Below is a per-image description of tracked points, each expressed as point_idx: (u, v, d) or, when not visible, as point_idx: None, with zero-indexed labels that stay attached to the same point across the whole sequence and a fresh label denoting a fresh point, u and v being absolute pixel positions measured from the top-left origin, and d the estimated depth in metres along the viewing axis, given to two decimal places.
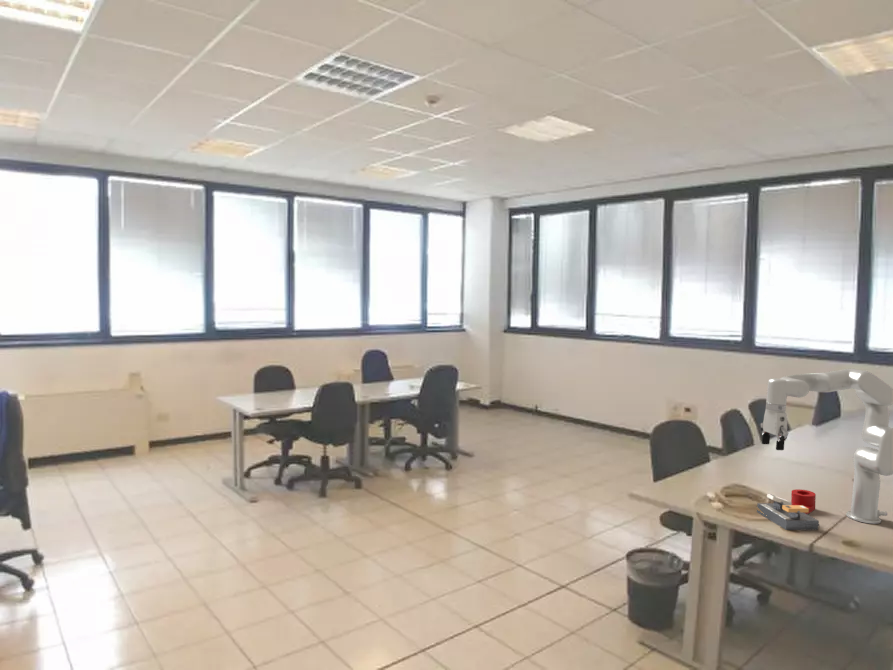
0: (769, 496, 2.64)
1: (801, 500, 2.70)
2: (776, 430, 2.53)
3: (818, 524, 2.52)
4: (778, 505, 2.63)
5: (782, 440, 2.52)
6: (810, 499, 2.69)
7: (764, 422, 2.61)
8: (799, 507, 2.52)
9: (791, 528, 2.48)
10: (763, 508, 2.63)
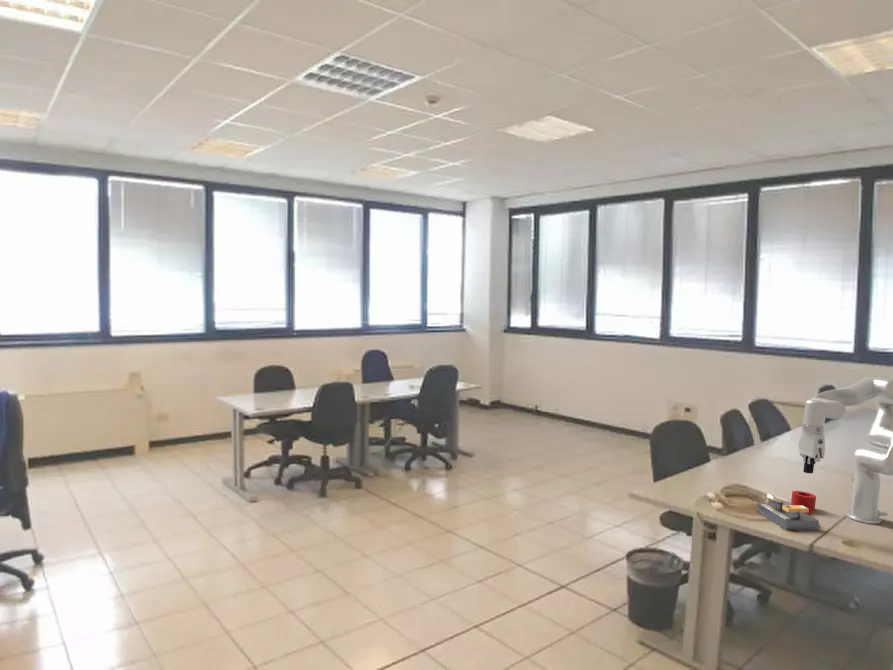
0: (769, 496, 2.64)
1: (801, 501, 2.71)
2: (814, 453, 2.47)
3: (818, 524, 2.52)
4: (778, 505, 2.63)
5: (811, 464, 2.50)
6: (810, 501, 2.70)
7: (800, 444, 2.54)
8: (799, 507, 2.52)
9: (791, 528, 2.48)
10: (763, 508, 2.63)
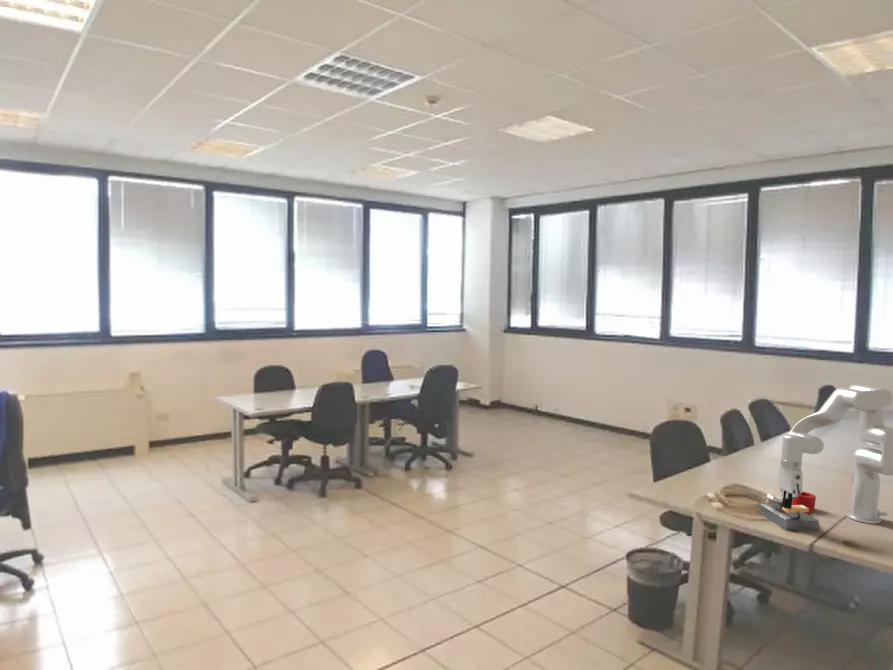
0: (769, 496, 2.64)
1: (801, 501, 2.71)
2: (791, 488, 2.47)
3: (818, 524, 2.52)
4: (778, 505, 2.63)
5: None
6: (810, 501, 2.70)
7: (778, 478, 2.55)
8: (799, 507, 2.52)
9: (791, 528, 2.48)
10: (763, 508, 2.63)
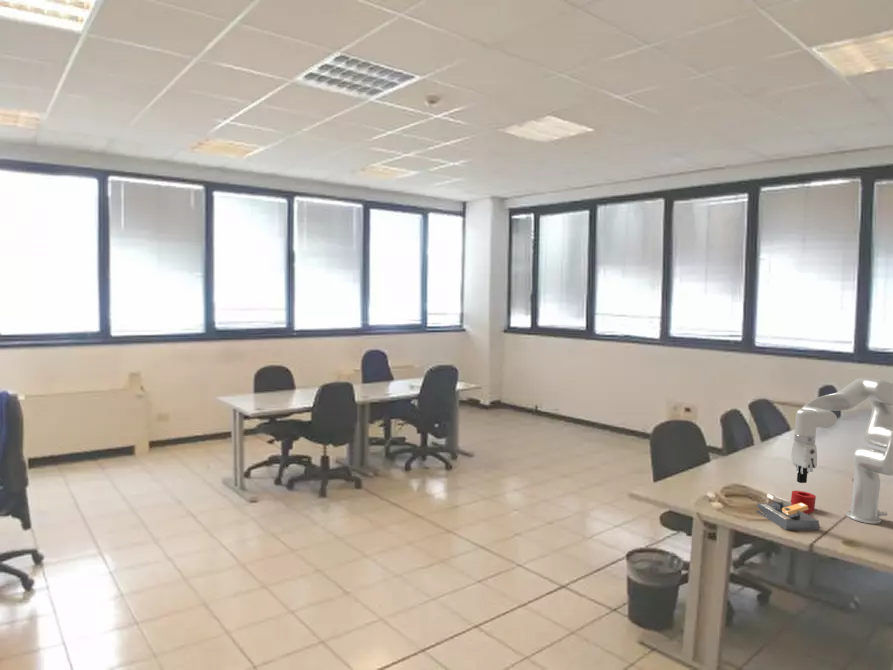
0: (769, 496, 2.64)
1: (801, 501, 2.71)
2: (806, 463, 2.47)
3: (818, 524, 2.52)
4: (778, 505, 2.63)
5: None
6: (810, 501, 2.70)
7: (793, 454, 2.55)
8: (798, 506, 2.52)
9: (791, 528, 2.48)
10: (763, 508, 2.63)
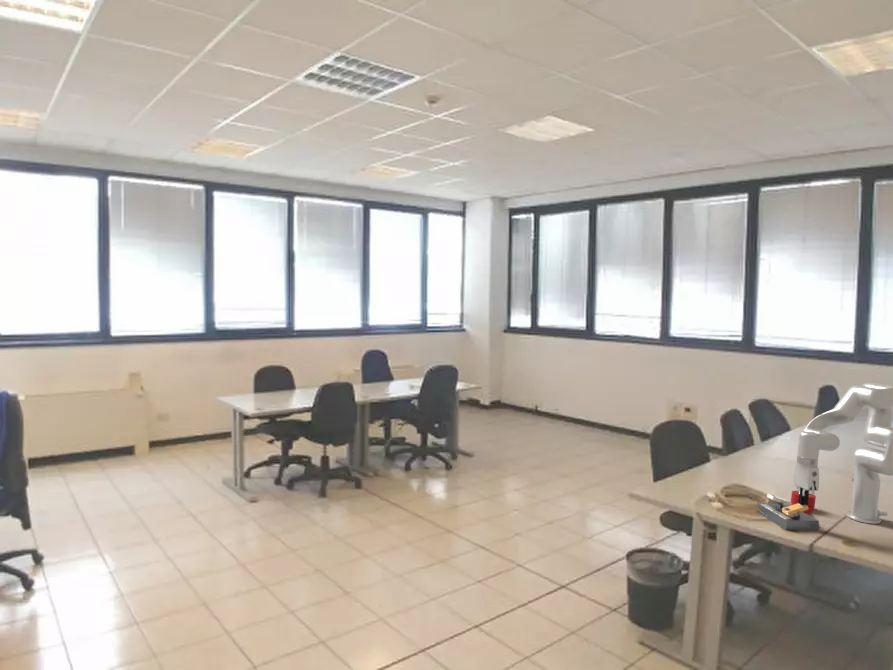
0: (769, 496, 2.64)
1: None
2: (808, 485, 2.48)
3: (818, 524, 2.52)
4: (778, 505, 2.63)
5: None
6: (810, 500, 2.70)
7: (795, 475, 2.55)
8: (798, 506, 2.52)
9: (791, 528, 2.48)
10: (763, 508, 2.63)
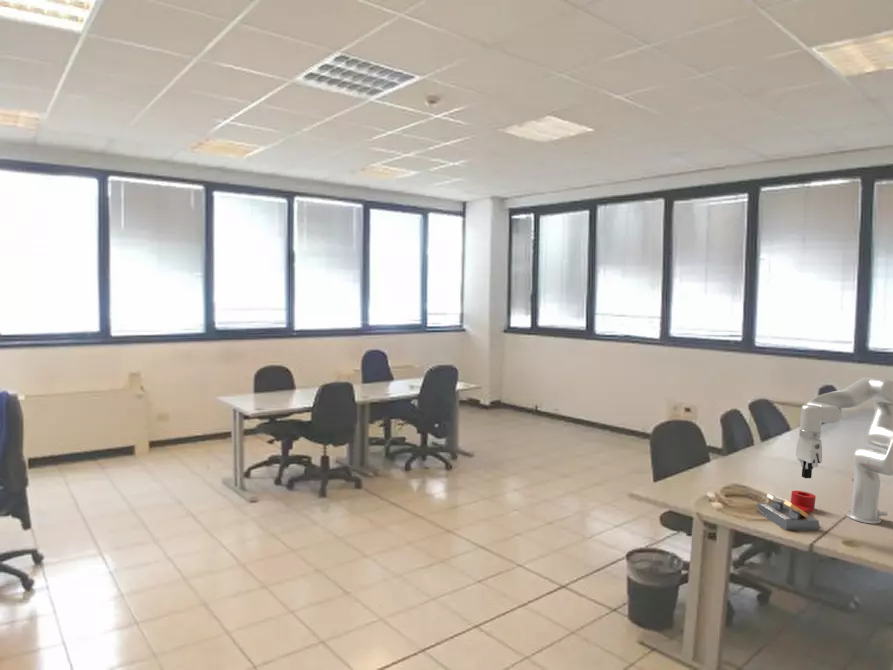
0: (769, 496, 2.64)
1: (801, 501, 2.71)
2: (811, 458, 2.47)
3: (818, 524, 2.52)
4: (778, 505, 2.63)
5: None
6: (810, 500, 2.70)
7: (797, 449, 2.55)
8: None
9: (791, 528, 2.48)
10: (763, 508, 2.63)
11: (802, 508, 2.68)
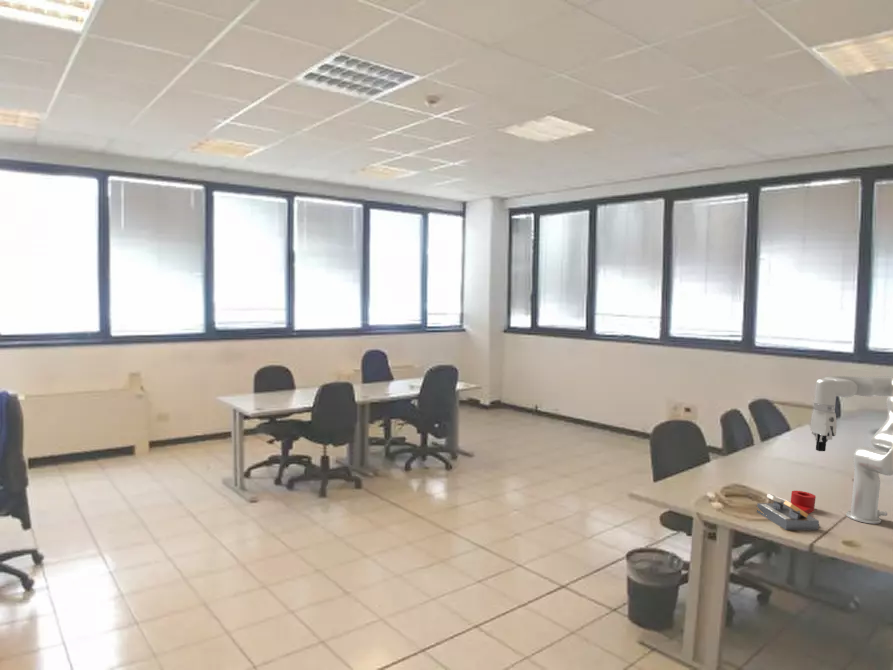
0: (769, 496, 2.64)
1: (801, 501, 2.71)
2: (825, 431, 2.51)
3: (818, 524, 2.52)
4: (778, 505, 2.63)
5: (823, 442, 2.54)
6: (810, 500, 2.70)
7: (812, 423, 2.59)
8: None
9: (791, 528, 2.48)
10: (763, 508, 2.63)
11: (802, 508, 2.68)
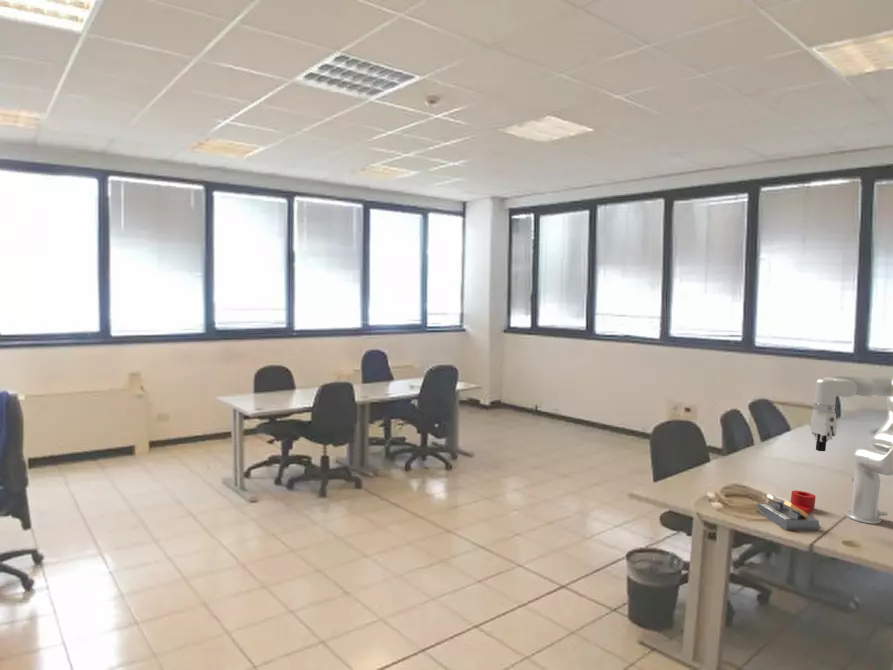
0: (769, 496, 2.64)
1: (801, 501, 2.71)
2: (825, 431, 2.51)
3: (818, 524, 2.52)
4: (778, 505, 2.63)
5: (823, 442, 2.54)
6: (810, 500, 2.70)
7: (812, 423, 2.59)
8: None
9: (791, 528, 2.48)
10: (763, 508, 2.63)
11: (802, 508, 2.68)
